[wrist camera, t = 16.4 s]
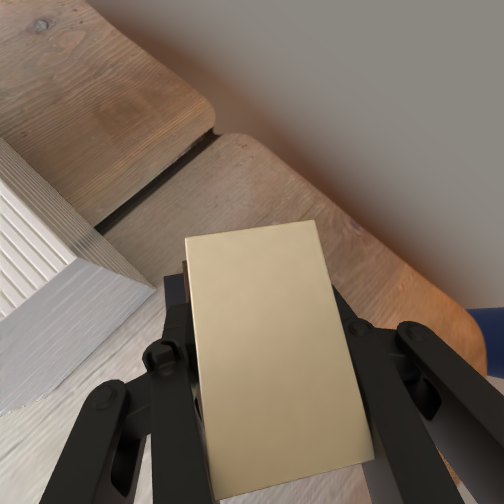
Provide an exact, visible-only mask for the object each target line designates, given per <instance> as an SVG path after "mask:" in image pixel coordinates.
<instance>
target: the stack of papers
mask: <svg viewBox="0 0 504 504" xmlns="http://www.w3.org/2000/svg"><path fill="white" fill-rule="evenodd" d="M156 290H157V289H156V288H155V287H154V286H153V285H152V284H151V283H150V282H149V281H148V280H147V279H146V278H145V277H144V276H143V275H142V274H141V273H139V272H138V271H137V270H136V269H135V268H134V267H133V266H132V265H131V264H130V263H129V262H128V261H127V260H126V259H125V258H124V257H123V256H122V255H121V254H120V253H119V252H118V251H117V250H116V249H115V248H114V247H113V246H112V245H111V244H110V243H109V242H108V241H107V240H106V239H105V238H104V237H103V236H102V235H101V234H100V233H99V232H98V231H97V230H96V229H95V228H94V227H92V226H91V225H90V224H89V223H88V222H87V221H86V220H85V219H84V218H83V217H82V216H81V215H80V214H79V213H78V212H77V211H76V210H75V209H74V208H73V207H72V206H71V205H70V204H69V203H68V202H67V201H66V200H65V199H64V198H63V197H62V196H61V195H60V194H59V193H58V192H57V191H56V190H55V189H54V188H53V187H52V186H51V185H50V184H49V183H48V182H47V181H45V180H44V179H43V178H42V177H41V176H40V175H39V174H38V173H37V172H36V171H35V170H34V169H33V168H32V167H31V166H30V165H29V164H28V163H27V162H26V161H25V160H24V159H23V158H22V157H21V156H20V155H19V154H18V153H17V152H16V151H15V150H14V149H13V148H12V147H11V146H10V145H9V144H8V143H7V142H6V141H5V140H4V139H3V138H2V137H1V136H0V417H1V416H3V415H5V414H8V413H9V412H10V411H11V412H13V411H15V410H18V409H20V408H22V407H23V406H24V407H25V406H28V405H30V404H32V403H34V402H37V401H40V400H42V399H45V398H46V397H47V396H48V395H49V394H50V393H51V392H52V391H53V390H54V389H55V388H56V387H57V386H58V385H59V384H60V383H61V382H62V381H63V380H64V379H65V378H67V377H68V376H69V375H70V374H71V373H72V372H73V371H74V370H75V369H76V368H77V367H78V366H79V365H80V364H81V363H82V362H83V361H84V360H85V359H86V358H87V357H88V356H89V355H90V354H91V353H92V352H93V351H94V350H95V349H96V348H97V347H98V346H99V345H101V344H102V343H103V342H104V341H105V340H106V339H107V338H108V337H109V336H110V335H111V334H112V333H113V332H114V331H115V330H116V329H117V328H118V327H119V326H120V325H121V324H122V323H123V322H124V321H125V320H126V319H127V318H128V317H129V316H130V315H131V314H132V313H133V312H135V311H136V310H137V309H138V308H139V307H140V306H141V305H142V304H143V303H144V302H145V301H146V300H147V299H148V298H149V297H150V296H151V295H152V294H153V293H154V292H155V291H156Z"/></svg>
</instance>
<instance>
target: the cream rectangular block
mask: <svg viewBox="0 0 504 504" xmlns="http://www.w3.org/2000/svg"><path fill="white" fill-rule="evenodd" d="M185 247H186V256H187V266H188V275H189V285H190V294H191V304H192V313H193V323H194V332H195V342H196V351H197V361H198V370H199V380H200V389H201V399H202V408H203V418H204V427H205V437H206V446H207V456H208V465H209V475H210V480H211V485H212V489H213V493H214V497H215V501H218V500H222V499H226V498H230V497H233V496H237V495H241V494H245V493H249V492H252V491H256V490H260V489H264V488H268V487H271V486H275V485H279V484H283V483H287V482H290V481H294V480H298V479H302V478H306V477H310V476H313V475H317V474H321V473H325V472H329V471H332V470H336V469H340V468H344V467H348V466H351V465H355V464H359V463H363V462H367V461H370V460H374V459H375V457H374V450H373V443H372V437H371V433H370V430H369V426H368V422H367V418H366V414H365V411H364V407H363V403H362V399H361V395H360V392H359V388H358V384H357V380H356V376H355V373H354V369H353V365H352V361H351V357H350V353H349V350H348V346H347V342H346V338H345V334H344V331H343V327H342V323H341V319H340V315H339V312H338V308H337V304H336V300H335V296H334V293H333V289H332V285H331V281H330V277H329V274H328V270H327V266H326V262H325V258H324V255H323V251H322V247H321V243H320V239H319V236H318V232H317V228H316V224H315V221H314V220H305V221H298V222H291V223H283V224H276V225H269V226H262V227H255V228H247V229H240V230H233V231H226V232H218V233H211V234H204V235H197V236H190V237H186V238H185Z"/></svg>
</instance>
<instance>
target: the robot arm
mask: <svg viewBox="0 0 504 504" xmlns="http://www.w3.org/2000/svg"><path fill="white" fill-rule="evenodd" d="M331 285H332V289H333V293H334V296H335V300H336V304H337V308H338V312H339V315H340V319H341V323H342V327H343V331H344V334H345V338H346V342H347V346H348V350H349V353H350V357H351V361H352V365H353V369H354V373H355V376H356V380H357V384H358V388H359V392H360V395H361V399H362V403H363V407H364V411H365V414H366V418H367V422H368V426H369V430H370V433H371V437H372V443H373V450H374V457H375V459H374V460H370V461H367V462H363V463H361V464H362V468H363V471H364V475H365V479H366V482H367V486H368V489H369V493H370V497H371V500H372V504H465V503H464V501H463V499H462V497H461V495H460V493H459V491H458V489H457V487H456V485H455V483H454V481H453V480H452V478H451V476H450V474H449V472H448V470H447V468H446V466H445V464H444V462H443V460H442V458H441V456H440V454H439V452H438V450H437V448H438V449H439V451H440V452H441V453H442V455H443V456H444V457H445V459H446V460H447V462H448V463H449V464H450V466H451V467H452V469H453V470H454V471H455V473H456V474H457V475H458V477H459V478H460V480H461V481H462V482H463V484H464V485H465V486H466V488H467V489H468V491H469V492H470V493H471V495H472V496H473V497H474V499H475V500H476V502H477V503H478V504H504V396H503V395H502V394H501V393H500V392H499V391H498V390H497V389H495V387H493V386H492V385H491V384H490V383H489V382H488V381H487V380H486V379H485V378H483V377H482V376H481V375H480V374H479V373H478V372H477V371H476V370H475V369H474V368H472V367H471V366H470V365H469V364H468V363H467V362H466V361H465V360H464V359H463V358H461V357H460V356H459V355H458V354H457V353H456V352H455V351H454V350H453V349H452V348H450V347H449V346H448V345H447V344H446V343H445V342H444V341H443V340H442V339H441V338H439V337H438V336H437V335H436V334H435V333H434V332H433V331H432V330H430V329H429V328H428V327H426V326H424V325H422V324H420V323H417V322H412V321H404V322H402V323H399V325H398V327H397V329H396V330H395V329H382V328H375V327H374V326H373V325H372V324H371V323H369V322H368V321H366V320H364V319H361V318H358V317H357V316H356V314H355V313H354V312H353V310H352V309H351V308H350V306H349V305H348V304H347V303H346V301H345V300H344V299H343V298H342V296H341V295H340V293H339V292H338V291H337V290H336V288H335V287H334V286H333V284H331ZM142 361H143V363H144V365H145V367H146V369H147V372H146V373H145V374H143V375H142V376H140V377H138V378H136V379H134V380H132V381H130V382H128V383H125V384H124V382H122V381H120V380H109V381H106V382H104V383H102V384H100V385H99V386H97V387H96V388H95V389H94V390H93V391H92V392H91V393H90V394H89V395H88V397H87V398H86V400H85V402H84V404H83V406H82V408H81V410H80V413H79V415H78V417H77V419H76V422H75V424H74V426H73V428H72V431H71V433H70V435H69V437H68V439H67V442H66V444H65V446H64V448H63V451H62V453H61V455H60V457H59V460H58V462H57V464H56V466H55V469H54V471H53V473H52V475H51V478H50V480H49V482H48V484H47V486H46V489H45V491H44V493H43V495H42V498H41V500H40V502H39V504H133V503H134V498H135V493H136V488H137V483H138V478H139V473H140V468H141V463H142V458H143V453H144V448H145V443H146V438H147V435H149V434H150V433H151V458H152V489H153V504H220V501H219V500H218V501H215V497H214V493H213V489H212V485H211V480H210V475H209V465H208V456H207V446H206V437H205V430H204V425H203V420H202V416H201V411H200V406H199V401H198V398H197V395H196V383H197V386H198V388H200V380H199V370H198V361H197V351H196V342H195V332H194V323H193V313H192V304H191V294H190V291H189V302H188V303H184V304H178V305H172V306H171V308H170V309H169V311H168V312H167V314H166V319H165V324H164V330H163V334H162V339H159V340H157V341H155V342H153V343H152V344H151V345H149V346H148V347H147V349H146V350H145V352H144V353H143V357H142ZM435 445H436V446H437V448H436V446H435Z"/></svg>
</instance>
